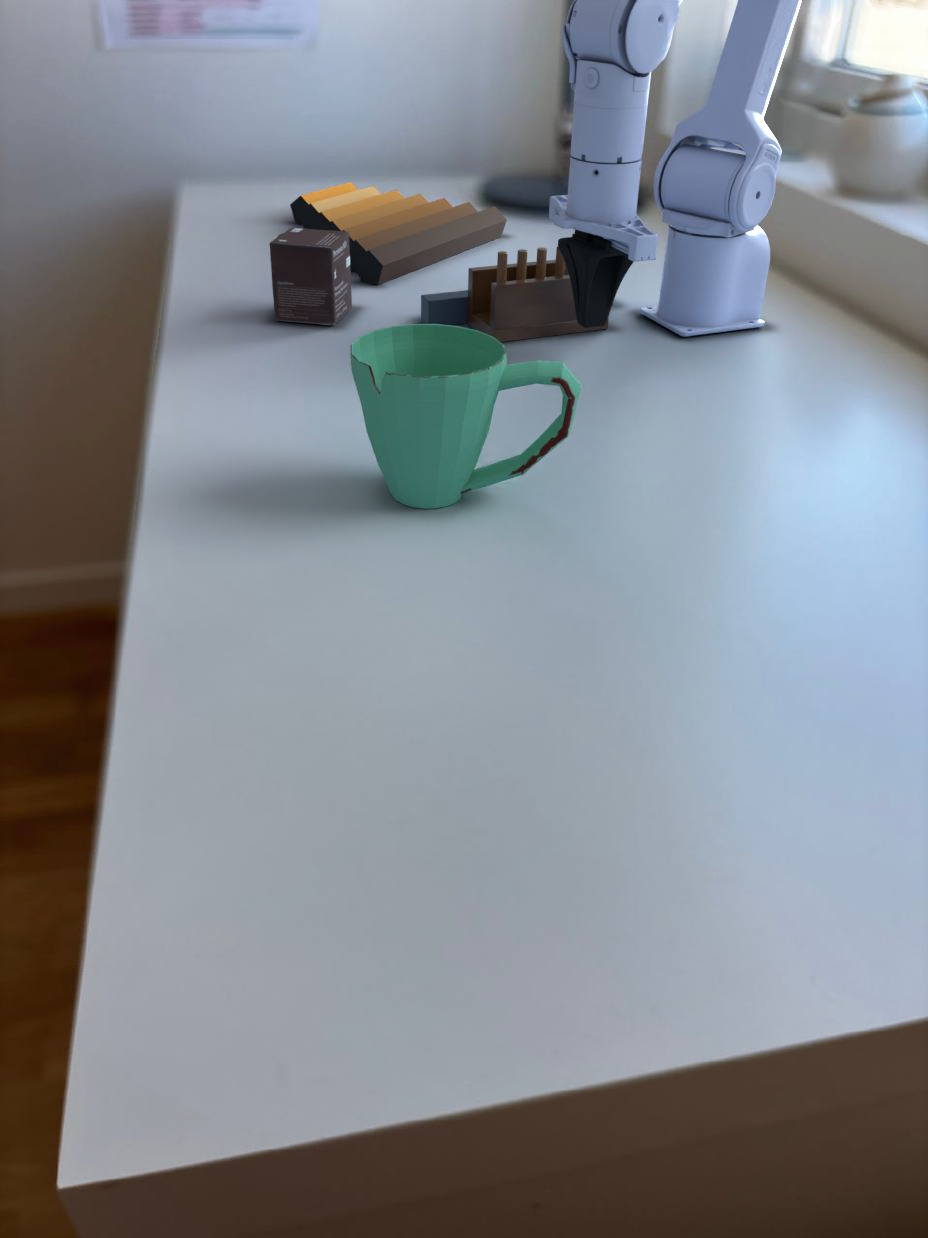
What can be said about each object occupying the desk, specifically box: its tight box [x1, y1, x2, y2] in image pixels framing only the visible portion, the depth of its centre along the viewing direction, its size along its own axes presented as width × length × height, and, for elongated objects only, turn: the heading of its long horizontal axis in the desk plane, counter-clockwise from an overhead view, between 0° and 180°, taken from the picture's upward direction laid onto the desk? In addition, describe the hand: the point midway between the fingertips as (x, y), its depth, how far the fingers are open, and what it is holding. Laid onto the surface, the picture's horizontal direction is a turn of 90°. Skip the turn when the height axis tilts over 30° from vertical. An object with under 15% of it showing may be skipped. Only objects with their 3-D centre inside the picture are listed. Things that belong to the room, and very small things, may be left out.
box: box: [269, 227, 353, 326], centre depth 103 cm, size 6×6×7 cm
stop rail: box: [420, 289, 614, 325], centre depth 106 cm, size 20×2×2 cm, turn 114°
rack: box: [467, 245, 610, 343], centre depth 102 cm, size 12×6×7 cm, turn 114°
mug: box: [349, 323, 583, 510], centre depth 71 cm, size 15×10×10 cm
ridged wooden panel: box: [289, 181, 508, 286], centre depth 127 cm, size 25×3×25 cm
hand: (591, 324), depth 95 cm, fingers closed
